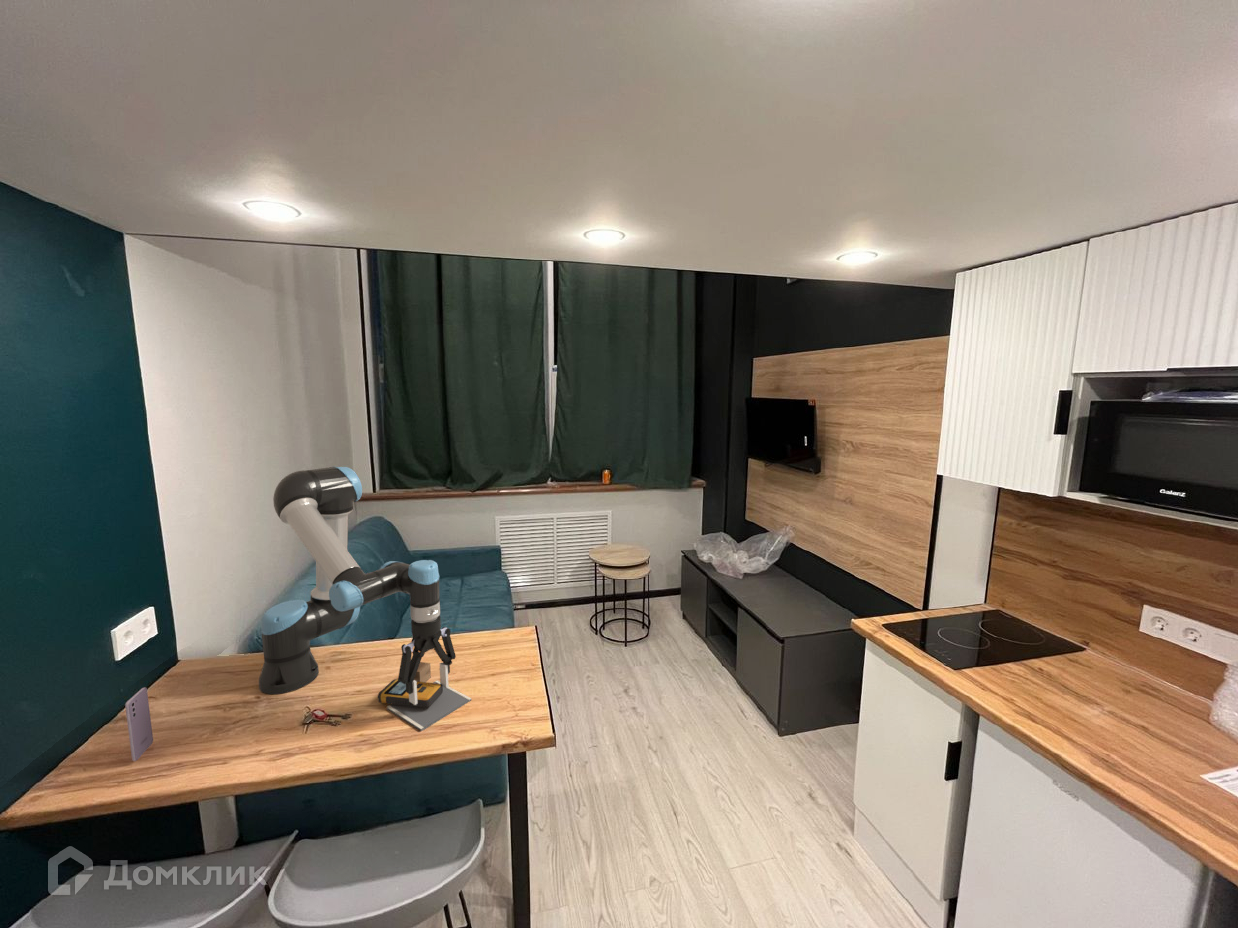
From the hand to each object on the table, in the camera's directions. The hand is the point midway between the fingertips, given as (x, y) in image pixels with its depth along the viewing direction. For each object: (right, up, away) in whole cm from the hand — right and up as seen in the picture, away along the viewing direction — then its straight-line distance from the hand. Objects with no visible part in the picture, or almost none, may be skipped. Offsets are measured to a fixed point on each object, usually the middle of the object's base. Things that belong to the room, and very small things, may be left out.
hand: (429, 693), depth 137 cm
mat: (0, -3, 0) cm, 3 cm away
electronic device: (+1, -4, +1) cm, 4 cm away
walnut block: (-8, -2, +12) cm, 14 cm away
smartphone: (-62, -6, -19) cm, 65 cm away
